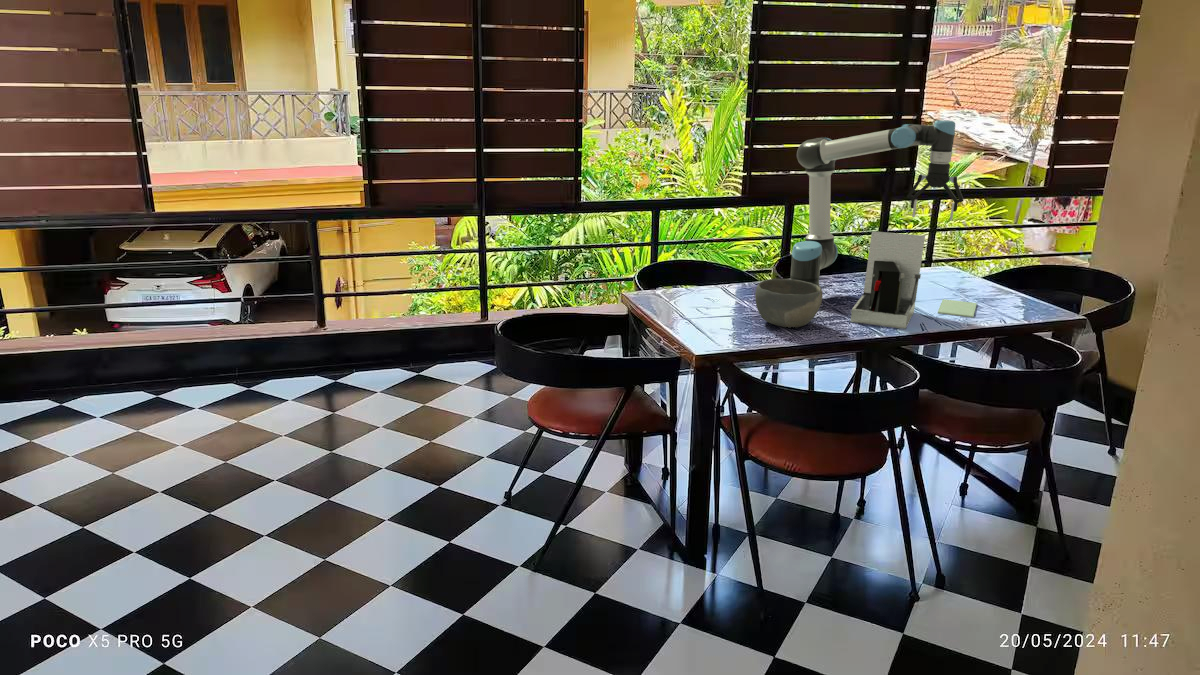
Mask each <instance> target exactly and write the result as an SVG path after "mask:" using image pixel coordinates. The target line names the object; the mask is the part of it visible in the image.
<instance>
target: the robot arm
mask: <svg viewBox="0 0 1200 675" xmlns="http://www.w3.org/2000/svg"><path fill="white" fill-rule="evenodd" d="M955 135H956V123H955V121H953V120H945V119H943V120H935V121H934V124H933V125H928V124H926V125H925V124H914V123H909V124H908V123H907V124H906V123H905V124H902V125H901V126H900V127H896V128H891V129H886V130H880V131H874V132H870V133H864V134H860V135H853V136H849V137H843V138H838V139H833V140H832V139H831V138H828V137H823V136H821V137H816V138H812V139H807V140H805V141H803V142H802V143H801V144H799V146H798V148H797V151H796V159H797V161H798V164H800V166H802V167H803V168H805V173H806V174H807V175H808V179H809V182H808V183H809V184H808V185H809V186H808V187H809V188H808V190H809V191H808V194H809V195H808V196H809V198H808V201H809V203H808V204H809V206H808V207H809V208H808V210H809V212H808V214H809V215H808V216H809V217H808V218H809V220H808V222H809V224H808V225H809V233H808V234H807V235H806V236H805V240H803V241H799V242H796V243H795V244H794V245H793V247H792V251H791V262H790V263H791V266H790V277H789V279H793V280H800V281H805V282H809V283H813V284H816V285H818V286H819V287H820V288H821V285H820V274H821V273H820V271H821V270H822V269H825V268H829V267H830V266H831V265H832V264H833V263H834V262H835V261H836V259H837V257H838V253H839V252H838V247H837V245H836V243H835V236H834V235H833V234H832V233H831V186H832V185H831V182H832V181H831V180H832V178H831V176H832V174H834V172H835V166H836V164H835V163H836V161H837V160H841V159H846V158H852V157H858V156H864V155H869V154H875V153H880V152H886V151H891V150H897V149H905V148H909V147H914V146H927V147H930V146H931V147H930V154H929V161H930V162H929V164H928V168H927V174H926V175H925V174H922V173H920V174H919V175H918V177H917V180H916V182H915V184H913V186H912V188H911V189H910V190H909V192H908V193H907V195H906V198H907V199H909V200H910V209H912V215H911V217H912V218H915V217H916V211H917V203H918V197H919V196H920V195H921V194H923V192H924V191H926V190H927V189H928V188H929V187H931V188H937V189H938V188H939V189H941V188H943V189H944V190H945V191H946V193H947V194H948V196H949V197H950V198H951V199H952V200H951V201H953V202H952V204H951V208H950V209H951V210H950V215H949V216H950V217H949V221H953V216H954V212H957V210H958V204H959V203H963V202H964V200H965V199H964V197H963V193H962V191H961V188H960V186H959V183H958V177H957V176H956V175H954V176H950V168H951V164H950V163H951V161H952V155H953V146H954V141H955ZM924 180H926V181H927V183H926V184H925V185H924V186H923V187H922V188H921V189H919V190H918V191H917V192H916V193H915V191H916V189H917V187H918V186H919V185H920V183H921V182H923V181H924ZM949 181H951V183H952V184H953V186H954V190H955V192H956V195H957V196H956V195H955V194H954V193H953V191H952V190H951V189H950V187H949V185H948V184H947V183H948V182H949ZM913 193H915V194H914V195H913ZM957 197H958V198H957Z"/></svg>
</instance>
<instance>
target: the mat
mask: <svg viewBox="0 0 1200 675" xmlns="http://www.w3.org/2000/svg"><path fill="white" fill-rule="evenodd" d="M977 305H978V303H977V302H969V301H962V300H961V301H960V300H954V299H953V300H952V299H945V298H944V299H943V298H942V300H941V302H940V306H939V307H938V310H937V314H940V315H941V314H942V315H950V316H958V317H963V318H964V317H965V318H974V316H975V312H976V308H977Z"/></svg>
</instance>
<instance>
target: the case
mask: <svg viewBox="0 0 1200 675" xmlns="http://www.w3.org/2000/svg"><path fill="white" fill-rule="evenodd" d="M870 237H871V238H870V244H869V251H868V256H867V258H868V259H867V265H866V272H865V281H864V286H863V293H862V295H861V297H860V298H859V299H858V300H857V301H856V303H855V304H854V306H853V307H852V308H851V312H850V323H855V324H856V323H857V324H863V325H873V326H879V327H888V328H894V329H902V330H906V329H907V328H908V325H909V323H910V321H911V318H912V317H913V315H914V313H915V306H916V301H917V293H918V286H919V282H920V281H919V280H920V279H921V277H922V274H921V266H922V260H923V252H924V246H925V239H926V235H919V234H909V233H907V234H906V233H897V232H896V233H895V232H886V231H885V232H884V231H874V230H873V231H871V236H870ZM874 261H892V262H895V263H896V264H897V265H900V271H901V273H904V275H905V278H903V279H902V287H901V295H900V303H899V311H898V313H897V314H891V313H883V312H875V311H869V304H870V295H871V286H872V277H873V268H874Z"/></svg>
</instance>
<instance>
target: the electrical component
mask: <svg viewBox="0 0 1200 675" xmlns="http://www.w3.org/2000/svg"><path fill="white" fill-rule="evenodd" d="M903 278H905V275H904V273H901V271H900V265H897V264H896V263H895V262H892V261H874V268H873V277H872V286H871V295H870V304H869V311H875V312H883V313H891V314H897V313H898V311H899V303H900V295H901V287H902V279H903Z"/></svg>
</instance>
